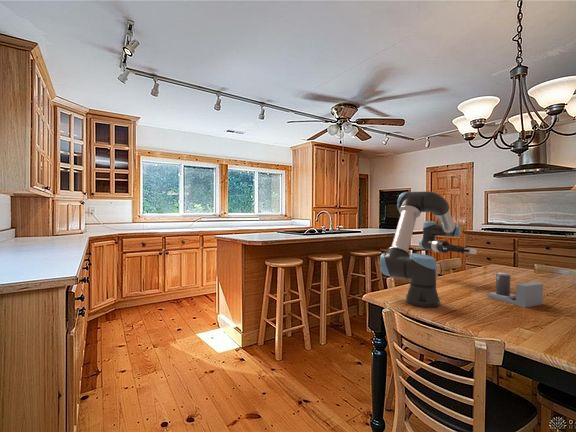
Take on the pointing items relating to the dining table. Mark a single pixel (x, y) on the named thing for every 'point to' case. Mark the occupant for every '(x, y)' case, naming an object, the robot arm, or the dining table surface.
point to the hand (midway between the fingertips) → (475, 251)
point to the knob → (503, 286)
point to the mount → (525, 295)
